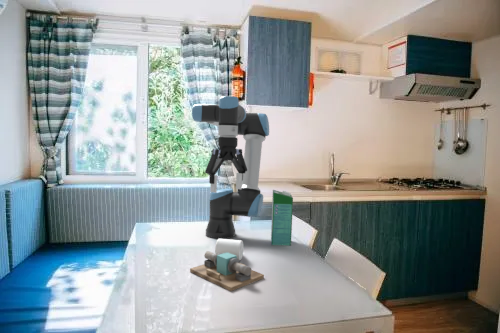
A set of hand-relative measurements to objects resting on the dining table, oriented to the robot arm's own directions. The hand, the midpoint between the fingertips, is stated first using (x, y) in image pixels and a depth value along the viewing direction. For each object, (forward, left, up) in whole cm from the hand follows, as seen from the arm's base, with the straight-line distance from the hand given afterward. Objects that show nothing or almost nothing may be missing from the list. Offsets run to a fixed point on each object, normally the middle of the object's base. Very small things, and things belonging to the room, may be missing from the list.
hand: (226, 190), depth 137 cm
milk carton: (-1, +37, -29) cm, 47 cm away
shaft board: (+11, -9, -29) cm, 32 cm away
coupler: (+11, -9, -27) cm, 31 cm away
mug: (-2, +5, -29) cm, 29 cm away
